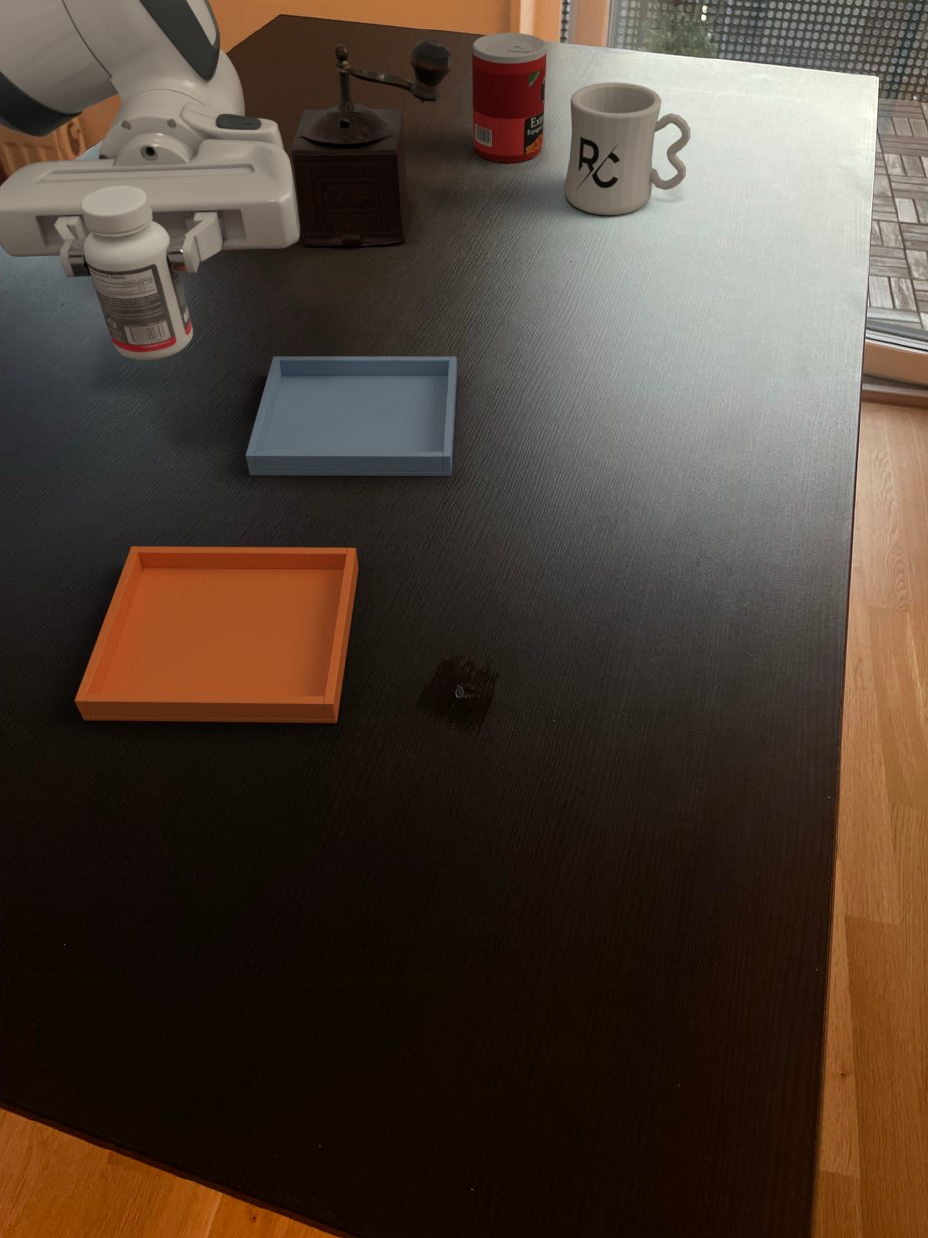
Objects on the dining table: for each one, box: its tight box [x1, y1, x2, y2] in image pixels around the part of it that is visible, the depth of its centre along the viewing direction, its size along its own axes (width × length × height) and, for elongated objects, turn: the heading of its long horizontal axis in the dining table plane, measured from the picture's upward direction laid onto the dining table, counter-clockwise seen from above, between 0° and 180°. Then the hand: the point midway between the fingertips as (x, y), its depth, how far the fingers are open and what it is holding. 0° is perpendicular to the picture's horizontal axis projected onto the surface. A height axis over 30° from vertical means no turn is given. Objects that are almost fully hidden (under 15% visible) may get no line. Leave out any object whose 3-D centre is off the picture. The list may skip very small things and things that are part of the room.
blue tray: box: [245, 355, 458, 477], centre depth 78 cm, size 15×13×2 cm
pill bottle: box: [81, 186, 194, 361], centre depth 64 cm, size 5×5×10 cm
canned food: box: [471, 32, 547, 164], centre depth 110 cm, size 8×8×11 cm
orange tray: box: [74, 545, 359, 724], centre depth 63 cm, size 15×13×2 cm
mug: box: [564, 81, 691, 216], centre depth 101 cm, size 12×9×10 cm
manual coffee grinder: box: [290, 38, 454, 248], centre depth 96 cm, size 16×11×18 cm
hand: (128, 264), depth 63 cm, fingers closed on pill bottle, 5 cm apart
